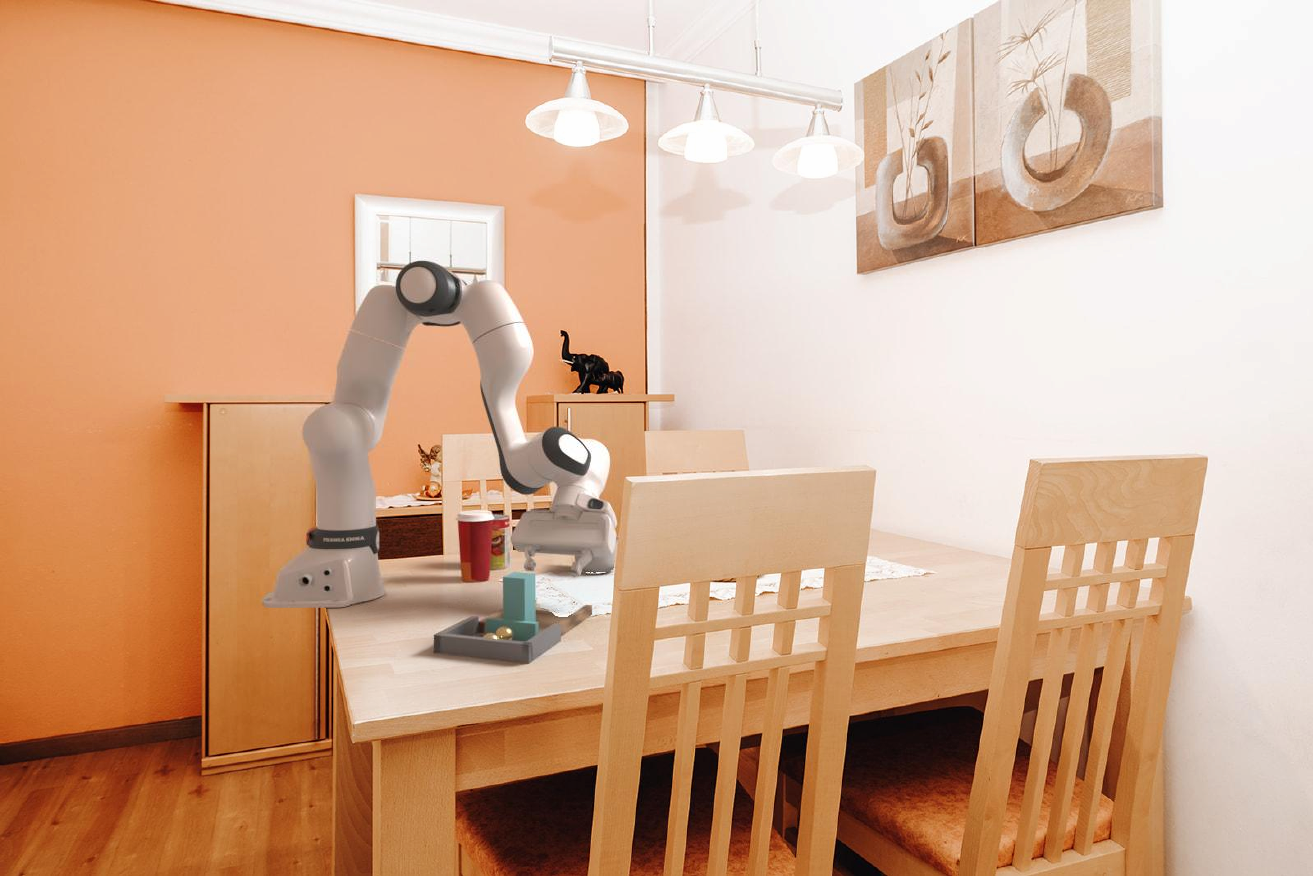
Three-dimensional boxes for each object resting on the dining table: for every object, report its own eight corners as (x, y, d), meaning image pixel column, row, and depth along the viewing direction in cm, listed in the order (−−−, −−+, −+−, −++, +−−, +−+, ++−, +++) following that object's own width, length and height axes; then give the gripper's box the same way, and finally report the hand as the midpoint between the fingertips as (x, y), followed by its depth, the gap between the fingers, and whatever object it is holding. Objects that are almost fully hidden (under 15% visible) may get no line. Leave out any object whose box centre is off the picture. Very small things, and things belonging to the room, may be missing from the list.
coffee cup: (499, 575, 175) (499, 510, 174) (487, 584, 167) (487, 515, 166) (463, 574, 176) (463, 509, 175) (450, 583, 168) (449, 514, 167)
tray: (472, 633, 132) (472, 615, 131) (560, 642, 127) (560, 624, 127) (433, 653, 121) (433, 634, 120) (529, 664, 116) (528, 645, 116)
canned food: (475, 564, 188) (475, 515, 187) (508, 562, 190) (508, 514, 189) (476, 570, 180) (476, 519, 180) (510, 569, 182) (510, 518, 181)
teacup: (628, 573, 178) (628, 539, 178) (585, 578, 172) (585, 543, 172) (600, 562, 190) (600, 530, 190) (560, 567, 184) (560, 534, 184)
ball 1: (488, 656, 122) (479, 654, 119) (484, 639, 123) (475, 636, 120) (505, 649, 121) (497, 646, 119) (500, 631, 123) (492, 628, 120)
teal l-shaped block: (501, 628, 134) (501, 571, 133) (548, 633, 131) (548, 574, 130) (486, 637, 129) (485, 577, 128) (535, 642, 126) (535, 581, 126)
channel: (521, 609, 147) (521, 599, 146) (592, 616, 142) (592, 605, 142) (476, 634, 131) (475, 622, 131) (553, 642, 126) (553, 630, 126)
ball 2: (499, 649, 125) (492, 645, 122) (498, 631, 127) (491, 626, 124) (517, 644, 125) (510, 640, 122) (515, 626, 126) (508, 622, 124)
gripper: (519, 499, 152) (495, 557, 143) (617, 503, 146) (597, 565, 137) (530, 518, 156) (506, 576, 147) (625, 523, 150) (607, 584, 141)
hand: (551, 571), depth 142 cm, fingers open, 8 cm apart
